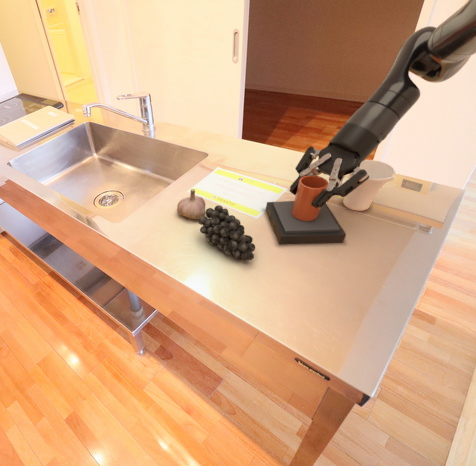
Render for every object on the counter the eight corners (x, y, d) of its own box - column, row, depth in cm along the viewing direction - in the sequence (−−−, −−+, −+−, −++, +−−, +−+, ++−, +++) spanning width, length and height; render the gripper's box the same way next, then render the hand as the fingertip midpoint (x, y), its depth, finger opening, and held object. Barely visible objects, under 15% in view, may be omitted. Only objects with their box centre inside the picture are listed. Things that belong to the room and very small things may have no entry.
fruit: (266, 231, 61) (218, 194, 72) (231, 256, 61) (188, 215, 72) (270, 255, 68) (225, 217, 78) (238, 278, 67) (197, 237, 78)
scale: (322, 207, 79) (325, 196, 77) (344, 242, 69) (349, 231, 67) (265, 209, 81) (267, 199, 79) (279, 244, 71) (281, 234, 69)
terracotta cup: (313, 206, 74) (322, 174, 69) (321, 220, 70) (332, 188, 65) (288, 207, 75) (296, 176, 70) (295, 221, 71) (304, 189, 66)
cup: (362, 220, 73) (379, 183, 67) (327, 201, 80) (339, 165, 74) (389, 207, 75) (408, 170, 69) (353, 189, 82) (367, 154, 76)
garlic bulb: (209, 220, 80) (211, 194, 75) (181, 225, 80) (180, 199, 75) (200, 203, 86) (201, 178, 81) (174, 208, 86) (173, 183, 81)
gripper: (326, 112, 67) (271, 178, 72) (394, 135, 57) (324, 210, 62) (338, 129, 72) (285, 190, 77) (403, 153, 61) (337, 222, 66)
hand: (303, 199), depth 69 cm, fingers closed on terracotta cup, 5 cm apart
